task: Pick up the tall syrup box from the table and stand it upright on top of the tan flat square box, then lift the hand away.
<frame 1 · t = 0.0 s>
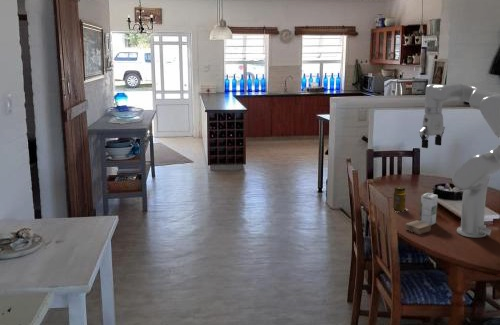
hand: (431, 146, 243), 37 cm above the table, fingers open, 9 cm apart
tan flat square box: (417, 230, 238), on the table
condiment: (397, 210, 267), on the table
syrup box: (427, 224, 246), on the table
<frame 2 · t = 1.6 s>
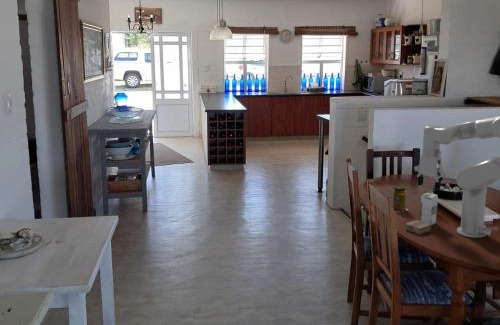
hand: (428, 187, 242), 18 cm above the table, fingers open, 9 cm apart
nothing on the table moved.
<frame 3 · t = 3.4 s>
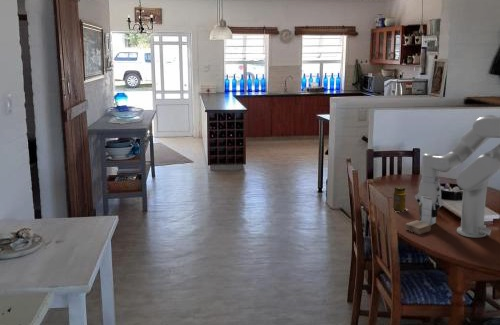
hand: (428, 214, 245), 4 cm above the table, fingers closed on syrup box, 6 cm apart
syrup box: (427, 223, 246), on the table, touching gripper
everything else where it was.
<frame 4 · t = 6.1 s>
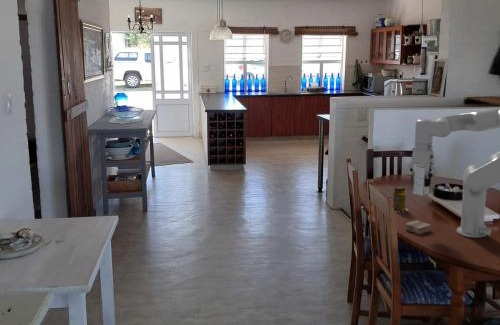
hand: (421, 184, 235), 22 cm above the table, fingers closed on syrup box, 6 cm apart
syrup box: (420, 194, 236), point 17 cm above the table, touching gripper
everything else where it was.
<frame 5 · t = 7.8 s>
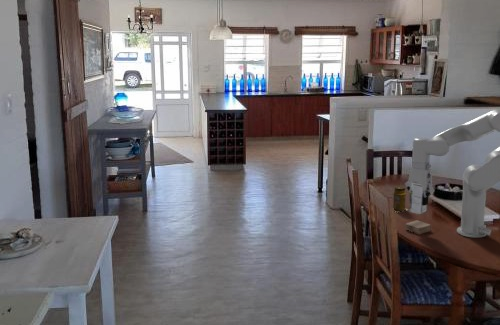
hand: (418, 202, 235), 13 cm above the table, fingers closed on syrup box, 6 cm apart
syrup box: (418, 212, 236), point 9 cm above the table, touching gripper
everything else where it was.
when the fingers open (9 cm above the table, at t = 9.1 s): syrup box drops 1 cm, resting on tan flat square box.
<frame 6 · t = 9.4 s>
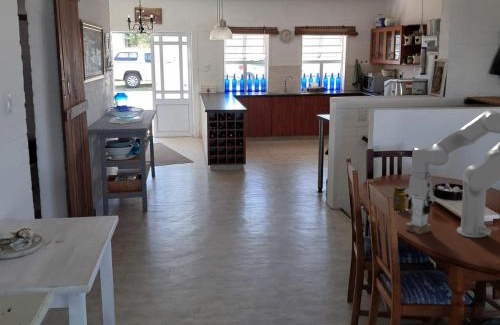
hand: (418, 210, 236), 10 cm above the table, fingers open, 8 cm apart
syrup box: (419, 224, 237), point 3 cm above the table, touching tan flat square box
everything else where it was.
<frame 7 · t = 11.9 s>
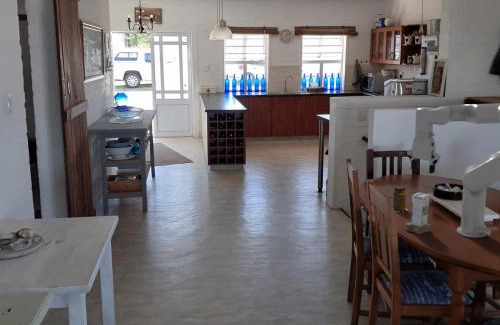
hand: (422, 171, 236), 27 cm above the table, fingers open, 9 cm apart
nothing on the table moved.
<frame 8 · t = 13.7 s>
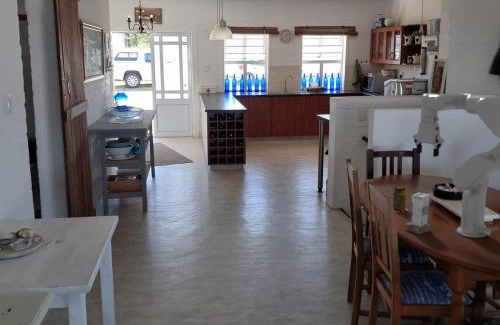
hand: (427, 154, 246), 32 cm above the table, fingers open, 9 cm apart
nothing on the table moved.
at the end: syrup box 0.5 cm off-centre on the tan flat square box, point 2.8 cm above the tan flat square box's base; syrup box tilted 0°; the gripper is holding nothing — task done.
